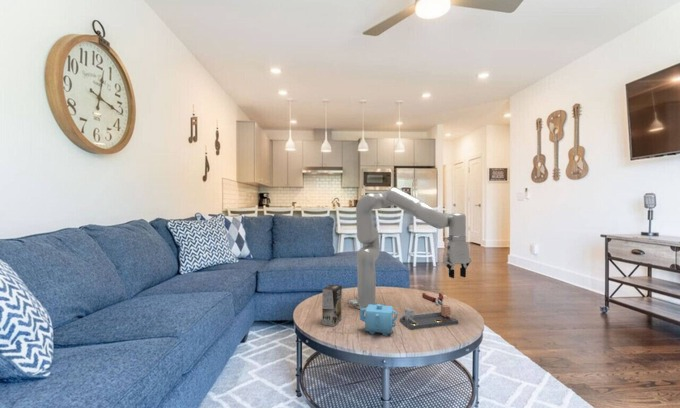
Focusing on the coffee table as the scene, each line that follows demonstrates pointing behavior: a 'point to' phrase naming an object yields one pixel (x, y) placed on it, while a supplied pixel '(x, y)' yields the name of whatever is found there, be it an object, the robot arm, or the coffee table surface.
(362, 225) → the robot arm
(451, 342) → the coffee table surface
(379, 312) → the teapot
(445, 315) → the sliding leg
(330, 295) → the coffee box
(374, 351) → the coffee table surface
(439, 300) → the pliers
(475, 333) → the coffee table surface
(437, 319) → the plate
